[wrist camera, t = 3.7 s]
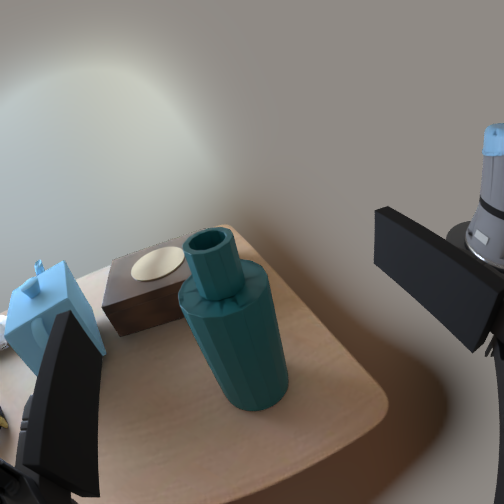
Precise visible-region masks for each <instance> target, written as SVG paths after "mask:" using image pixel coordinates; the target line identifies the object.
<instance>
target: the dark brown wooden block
mask: <svg viewBox="0 0 504 504" xmlns="http://www.w3.org/2000/svg"><path fill="white" fill-rule="evenodd" d="M205 229H206V228H204V229H201V230H198V231H195V232H192V233H189V234H186V235H183V236H180V237H177V238H174V239H171V240H168V241H165V242H162V243H159V244H156V245H153V246H151V247H148V248H145V249H142V250H139V251H136V252H133V253H131V254H128V255H125V256H122V257H119V258H117V259H114V260H112V263H111V267H110V271H109V276H108V280H107V284H106V289H105V293H104V298H103V303H102V309H103V311H104V312H105V314H106V316H107V317H108V319H109V320H110V322H111V324H112V325H113V327H114V328H115V330H116V331H117V333H118V334H119V336H120V337H121V336H124V335H128V334H131V333H134V332H138V331H141V330H144V329H147V328H151V327H154V326H157V325H160V324H164V323H167V322H170V321H173V320H176V319H179V318H182V317H185V316H184V314H183V312H182V309H181V307H180V305H179V299H178V293H179V291H180V288H181V286H182V284H183V282H184V281H185V280H186V279H187V278H188V277H189V276H190V275H191V271H190V268H189V266H188V263H187V260H186V258H185V255H184V252H183V247H182V245H183V243H184V242H185V241H186V239H187V238H188V237H190V236H192V235H193V234H195V233H197V232H199V231H202V230H205Z"/></svg>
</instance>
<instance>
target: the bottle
mask: <svg viewBox="0 0 504 504" xmlns="http://www.w3.org/2000/svg"><path fill="white" fill-rule="evenodd" d="M182 247H183V252H184V255H185V258H186V260H187V263H188V266H189V268H190V271H191V275H190V276H189V277H188V278H187V279H186V280H185V281H184V282H183V284H182V286H181V288H180V291H179V293H178V299H179V305H180V307H181V309H182V312H183V314H184V316H185V318H186V320H187V322H188V324H189V326H190V329H191V331H192V333H193V335H194V337H195V339H196V341H197V343H198V345H199V347H200V349H201V351H202V353H203V355H204V357H205V359H206V361H207V363H208V365H209V366H210V368H211V370H212V372H213V374H214V376H215V378H216V380H217V382H218V383H219V385H220V387H221V389H222V391H223V393H224V394H225V396H226V397H227V398H228V400H229V401H230V403H232V404H233V405H234V406H236V407H237V408H239V409H242V410H246V411H260V410H264V409H267V408H269V407H271V406H273V405H275V404H276V403H277V402H279V401H280V400H281V399H282V397H283V396H284V394H285V393H286V391H287V388H288V372H287V367H286V362H285V357H284V352H283V347H282V343H281V338H280V333H279V328H278V323H277V318H276V313H275V309H274V304H273V299H272V294H271V289H270V285H269V280H268V275H267V274H266V272H265V270H264V269H263V267H262V266H261V265H259V264H257V263H255V262H253V261H250V260H243V259H240V258H239V255H238V251H237V247H236V243H235V239H234V236H233V233H232V232H231V230H230V229H227V228H223V227H216V228H208V229H205V230H202V231H199V232H197V233H195V234H193V235H192V236H190V237H188V238H187V239H186V241H185V242H184V243H183V245H182Z"/></svg>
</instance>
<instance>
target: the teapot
mask: <svg viewBox="0 0 504 504" xmlns="http://www.w3.org/2000/svg"><path fill="white" fill-rule="evenodd" d="M35 271H36V275H37V276H36V277H32V278H30V279H28V280H27V281H26V282H25V283H24V284H23V285H21V286H20V287H18V288H17V289H15V290H13V292H12V295H11V299H10V304H9V309H8V314H7V319H6V325H5V332H4V338H5V339H6V341H7V342H8V343H9V344H10V346H11V347H12V348H13V349H14V351H15V352H16V353H17V354H18V355H19V357H20V358H21V359H22V360H23V361H24V362H25V364H26V365H27V366H28V367H29V368H30V369H31V370H32V371H33V373H34V374H35V375H36V376H38V373H39V369H40V365H41V361H42V358H43V354H44V351H45V348H46V345H47V341H48V338H49V335H50V332H51V329H52V326H53V323H54V320H55V317H56V315H57V314H60V313H63V312H66V311H69V310H71V311H72V313H73V314H74V316H75V317H76V319H77V320H78V322H79V323H80V325H81V326H82V328H83V329H84V331H85V332H86V334H87V335H88V336H89V338H90V339H91V341H92V342H93V343H94V345H95V346H96V348H97V349H98V350H99V352H100V353H101V354H102V356H104V355H105V354H106V351H105V348H104V345H103V342H102V339H101V336H100V333H99V330H98V326H97V323H96V320H95V317H94V313H93V310H92V307H91V306H90V304H89V303H88V301H87V299H86V298H85V296H84V294H83V293H82V291H81V289H80V287H79V286H78V284H77V282H76V280H75V279H74V277H73V275H72V273H71V271H70V270H69V268H68V266H67V264H66V262H65V261H64V260H63V261H62V262H60V263H58V264H56V265H55V266H53V267H51V268H50V269H48V270H46V271H45V270H44V267H43V265H42V262H41V260H38V261H37V262H36V263H35Z"/></svg>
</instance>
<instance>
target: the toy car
mask: <svg viewBox="0 0 504 504" xmlns="http://www.w3.org/2000/svg"><path fill="white" fill-rule="evenodd" d="M6 319H7V317H6V316H4V315H1V316H0V344H1V345H2V344H5V345H7V344H6V342H7V341H6V339H5V338H4V332H5V325H6ZM7 343H8V342H7ZM5 345H4V346H5ZM4 346H2V347H4ZM2 347H1V348H2ZM7 347H8V346H7ZM7 347H6V348H7ZM1 348H0V349H1ZM4 349H5V348H4ZM2 350H3V349H2ZM2 350H1V351H2Z"/></svg>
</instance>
